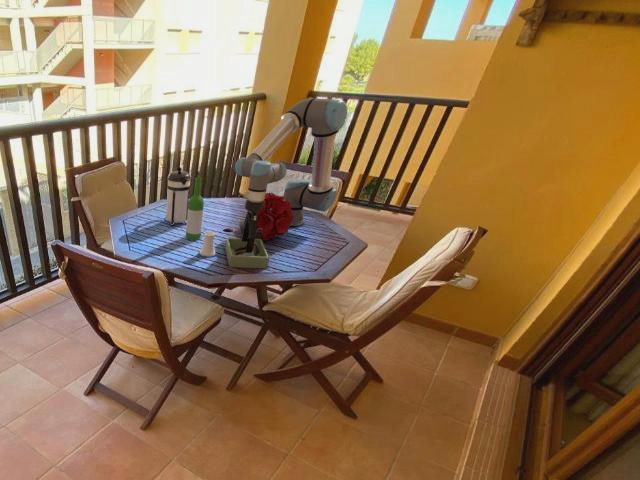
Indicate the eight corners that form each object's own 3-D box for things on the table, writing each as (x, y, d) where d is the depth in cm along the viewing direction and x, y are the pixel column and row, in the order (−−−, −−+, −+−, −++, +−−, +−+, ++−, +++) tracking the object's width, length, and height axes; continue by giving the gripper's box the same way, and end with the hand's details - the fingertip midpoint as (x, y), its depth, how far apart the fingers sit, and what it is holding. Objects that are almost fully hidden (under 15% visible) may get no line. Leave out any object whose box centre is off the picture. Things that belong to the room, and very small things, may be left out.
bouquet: (230, 248, 209) (275, 236, 183) (223, 204, 206) (267, 185, 179) (259, 243, 219) (305, 231, 192) (252, 200, 216) (298, 182, 189)
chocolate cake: (229, 258, 183) (249, 246, 174) (232, 249, 187) (252, 236, 178) (242, 271, 186) (263, 259, 177) (245, 261, 190) (265, 250, 181)
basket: (225, 248, 193) (226, 237, 190) (259, 249, 191) (261, 239, 188) (229, 266, 175) (230, 256, 172) (266, 268, 174) (269, 257, 171)
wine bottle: (188, 234, 209) (193, 175, 191) (202, 236, 205) (208, 177, 188) (183, 239, 203) (187, 179, 186) (197, 241, 200) (203, 181, 182)
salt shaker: (211, 257, 183) (214, 237, 177) (196, 254, 186) (198, 234, 180) (217, 252, 188) (220, 232, 182) (203, 249, 192) (205, 229, 186)
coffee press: (194, 220, 226) (199, 165, 209) (182, 228, 215) (186, 171, 198) (167, 215, 234) (170, 162, 216) (155, 223, 223) (156, 167, 205)
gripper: (242, 192, 178) (235, 236, 190) (250, 208, 158) (241, 257, 170) (259, 192, 177) (251, 237, 190) (269, 209, 157) (259, 258, 169)
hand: (246, 246), depth 180 cm, fingers open, 13 cm apart
